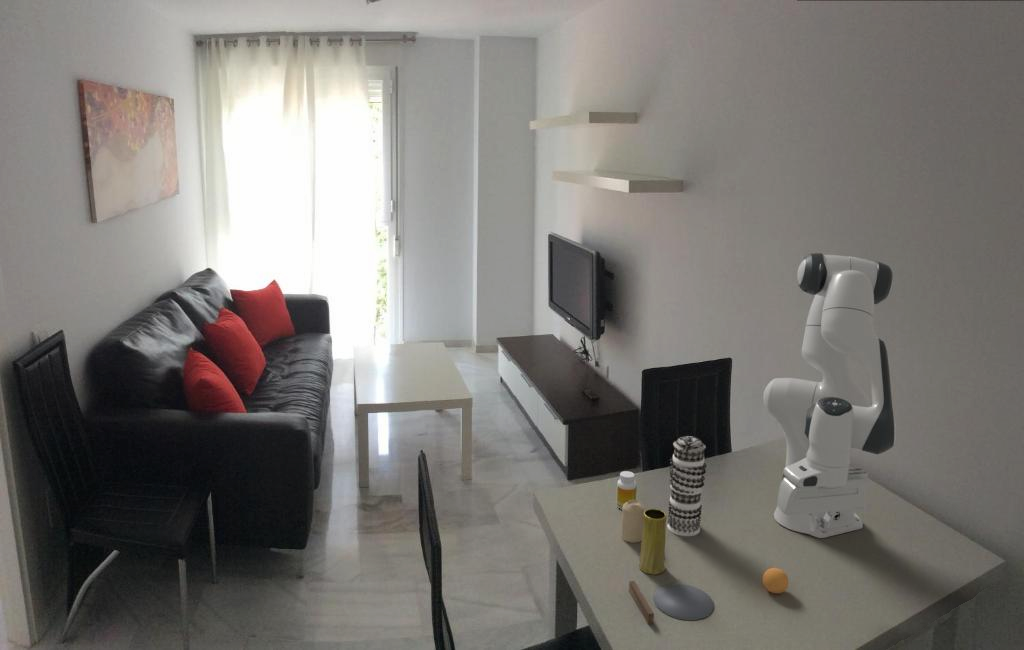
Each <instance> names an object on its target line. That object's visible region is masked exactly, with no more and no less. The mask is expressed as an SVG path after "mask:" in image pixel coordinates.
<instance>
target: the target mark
mask: <svg viewBox="0 0 1024 650" xmlns="http://www.w3.org/2000/svg"><path fill="white" fill-rule="evenodd" d="M653 601H654V604H655V606H656V607H657V608H658V610H659V611H661V612H662V613H663V614H665V615H667V616H669V617H671V618H674V619H678V620H683V621H698V620H702V619H703V620H704V619H705V618H707V617H709V616H710V615H711V614H712V613H713V611H714V607H715V606H714V601H713V599H712V598H711V596H710V595H709V594H708V593H706V592H705V591H704V590H702V589H700V588H699V587H696V586H693V585H689V584H685V583H684V584H683V583H670V584H666V585H662V586H661V587H659V588H658V589H657V590H656V591H655V592H654V595H653Z"/></svg>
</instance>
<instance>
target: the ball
mask: <svg viewBox="0 0 1024 650" xmlns="http://www.w3.org/2000/svg"><path fill="white" fill-rule="evenodd" d="M762 584H763V585H764V587H765V589H766V590H767V591H768V592H770V593H772V594H782V593H783V592H785V591H786V590H787V589H788V586H789V578H788V575H787V573H786V572H784V571H783V570H782V569H781V568H777V567H770V568H768V569H767V570H765V572H764V573H763V576H762Z"/></svg>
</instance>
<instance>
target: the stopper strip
mask: <svg viewBox="0 0 1024 650" xmlns="http://www.w3.org/2000/svg"><path fill="white" fill-rule="evenodd" d="M628 581H629V580H628ZM628 584H629V585H628V592H629V594H630V596H631V597H632V599H633V602H634V603H635V605H637V608H638V609H639V611H640V613H641V615H642V616H643V618H644V619H645V622H646V623H647V625H654V621H655V613H654V611H653V610H652V607H651V606H650V604H649V602H648V601H647V599H646V597H645V596H644V595H643V593H642V591H641V590H640V588H639V586H638V585H637V582H636V581H635V580H631V581H629V582H628Z"/></svg>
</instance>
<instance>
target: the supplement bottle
mask: <svg viewBox="0 0 1024 650" xmlns="http://www.w3.org/2000/svg"><path fill="white" fill-rule="evenodd" d="M637 486H638V485H637V482H636V480H635V473H634V472H632V471H627V470H625V471H621V472H620V473H619V479H618V480H617V482H616V499H615V501H616V503H615V505H616V507H617V509H619V508H620V510H622V506H623V504H625V503H626V502H627V501H629V500H637V488H638V487H637Z"/></svg>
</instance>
